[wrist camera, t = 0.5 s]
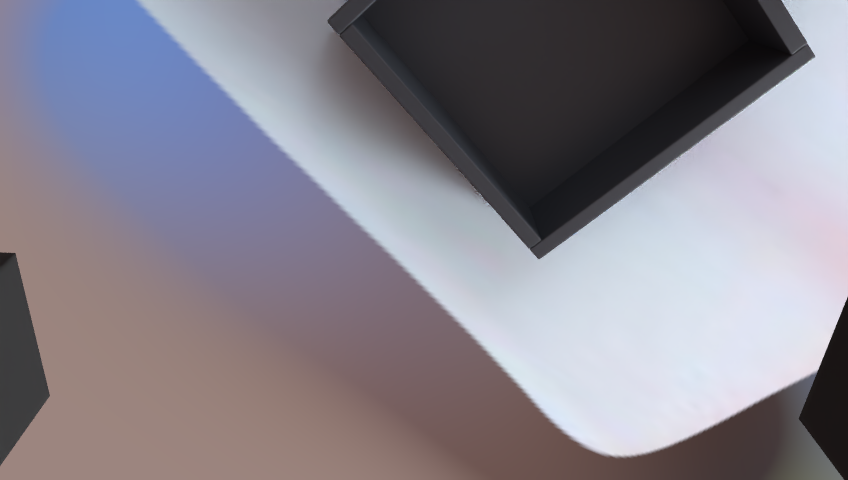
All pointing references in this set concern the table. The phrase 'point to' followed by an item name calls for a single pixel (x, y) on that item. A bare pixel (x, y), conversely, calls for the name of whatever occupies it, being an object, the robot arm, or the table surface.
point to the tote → (570, 90)
